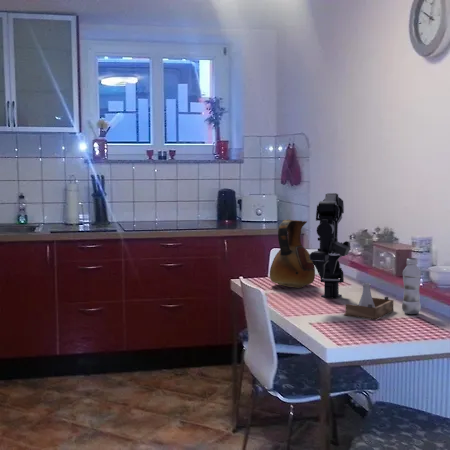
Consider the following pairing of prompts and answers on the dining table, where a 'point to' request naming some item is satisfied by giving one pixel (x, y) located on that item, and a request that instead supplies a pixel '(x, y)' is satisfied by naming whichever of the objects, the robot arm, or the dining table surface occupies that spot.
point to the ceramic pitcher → (292, 257)
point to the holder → (371, 309)
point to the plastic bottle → (411, 287)
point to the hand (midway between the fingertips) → (327, 275)
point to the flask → (366, 296)
